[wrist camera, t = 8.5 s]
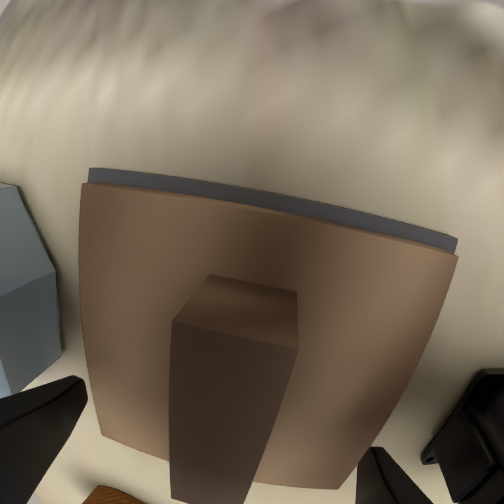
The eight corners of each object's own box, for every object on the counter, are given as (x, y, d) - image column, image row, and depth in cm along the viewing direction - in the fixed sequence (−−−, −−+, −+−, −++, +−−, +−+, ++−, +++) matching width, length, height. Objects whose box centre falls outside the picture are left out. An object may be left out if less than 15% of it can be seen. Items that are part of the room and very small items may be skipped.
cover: (444, 249, 8) (516, 290, 5) (336, 474, 11) (340, 537, 8) (98, 182, 9) (14, 191, 5) (110, 423, 12) (74, 473, 9)
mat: (449, 235, 9) (457, 238, 8) (340, 471, 12) (341, 480, 12) (98, 167, 10) (89, 167, 9) (107, 418, 13) (102, 425, 13)
